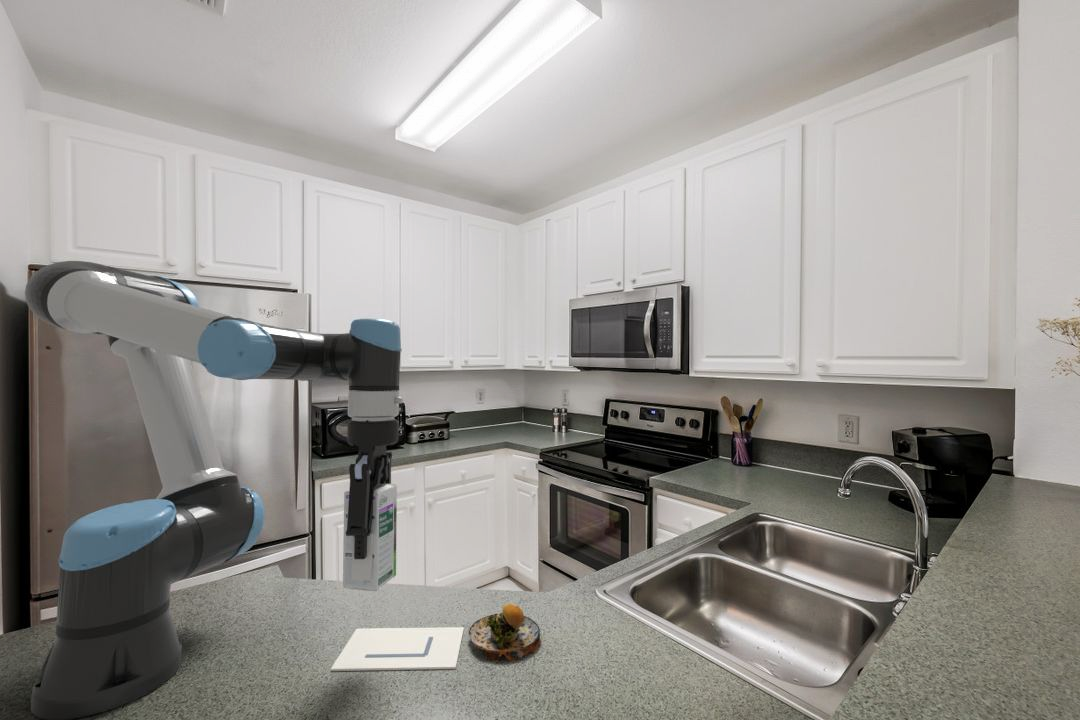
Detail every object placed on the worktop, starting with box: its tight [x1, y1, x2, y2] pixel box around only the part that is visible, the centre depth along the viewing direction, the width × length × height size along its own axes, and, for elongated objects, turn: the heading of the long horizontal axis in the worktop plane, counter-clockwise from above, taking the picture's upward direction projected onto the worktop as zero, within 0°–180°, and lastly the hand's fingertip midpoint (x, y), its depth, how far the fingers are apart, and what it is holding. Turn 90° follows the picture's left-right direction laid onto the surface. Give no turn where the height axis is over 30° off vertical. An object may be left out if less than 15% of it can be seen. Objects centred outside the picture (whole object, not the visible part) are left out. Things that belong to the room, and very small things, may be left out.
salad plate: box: [468, 596, 541, 662], centre depth 75 cm, size 12×12×8 cm
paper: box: [330, 626, 465, 672], centre depth 72 cm, size 18×11×1 cm, turn 93°
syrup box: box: [342, 483, 398, 592], centre depth 71 cm, size 6×6×14 cm
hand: (369, 569), depth 70 cm, fingers closed on syrup box, 6 cm apart
